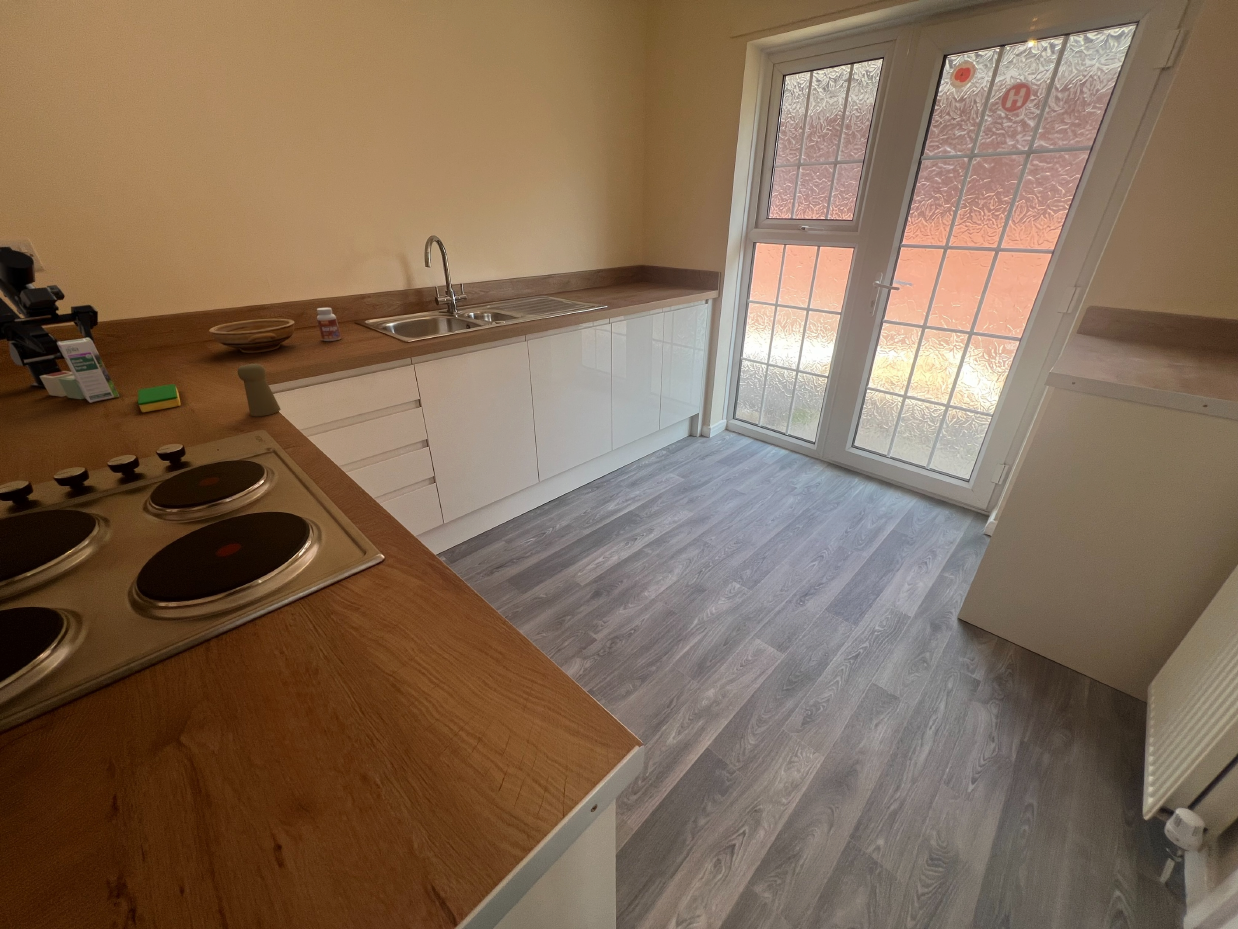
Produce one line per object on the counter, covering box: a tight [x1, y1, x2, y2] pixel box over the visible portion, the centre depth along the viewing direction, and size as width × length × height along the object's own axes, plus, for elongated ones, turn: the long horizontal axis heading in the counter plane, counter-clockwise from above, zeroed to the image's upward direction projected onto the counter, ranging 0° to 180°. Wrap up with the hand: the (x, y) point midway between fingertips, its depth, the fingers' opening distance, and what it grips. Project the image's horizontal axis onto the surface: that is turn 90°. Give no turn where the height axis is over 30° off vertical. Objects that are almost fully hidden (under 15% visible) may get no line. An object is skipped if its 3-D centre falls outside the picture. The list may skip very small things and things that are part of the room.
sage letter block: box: [59, 375, 86, 400], centre depth 127 cm, size 5×5×5 cm
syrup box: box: [57, 337, 120, 404], centre depth 123 cm, size 6×6×14 cm
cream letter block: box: [40, 370, 73, 398], centre depth 129 cm, size 5×5×5 cm
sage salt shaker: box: [237, 363, 281, 417], centre depth 113 cm, size 6×6×11 cm
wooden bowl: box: [208, 318, 296, 354], centre depth 171 cm, size 30×24×8 cm
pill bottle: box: [316, 307, 342, 342], centre depth 181 cm, size 6×6×11 cm
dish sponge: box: [137, 383, 182, 413], centre depth 122 cm, size 7×14×2 cm, turn 40°
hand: (69, 347), depth 123 cm, fingers open, 9 cm apart
